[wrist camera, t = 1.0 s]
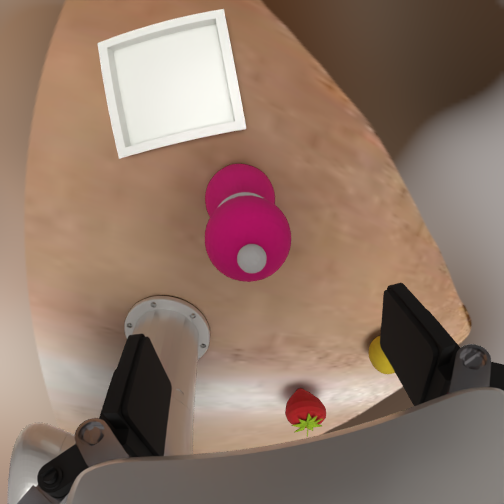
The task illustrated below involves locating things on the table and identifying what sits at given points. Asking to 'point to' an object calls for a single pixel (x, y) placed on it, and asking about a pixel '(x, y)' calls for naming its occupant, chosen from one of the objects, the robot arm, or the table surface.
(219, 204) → the pepper mill
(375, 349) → the lemon
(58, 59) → the table surface
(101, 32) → the table surface
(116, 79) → the tray
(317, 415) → the strawberry
